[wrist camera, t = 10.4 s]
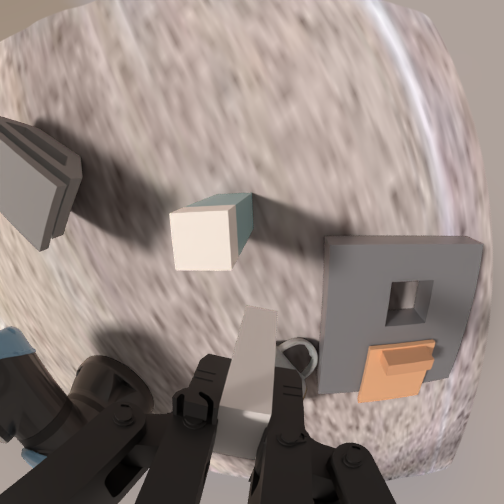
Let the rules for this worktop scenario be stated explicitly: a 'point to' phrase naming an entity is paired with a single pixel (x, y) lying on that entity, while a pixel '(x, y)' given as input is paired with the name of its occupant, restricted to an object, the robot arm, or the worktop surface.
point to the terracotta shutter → (395, 370)
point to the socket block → (377, 300)
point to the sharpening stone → (36, 181)
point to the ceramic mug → (285, 363)
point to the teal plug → (211, 232)
